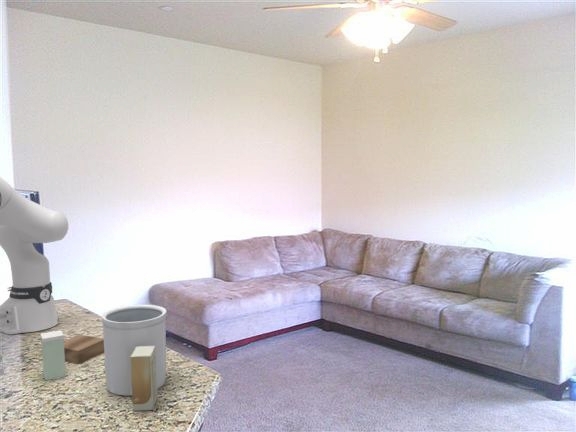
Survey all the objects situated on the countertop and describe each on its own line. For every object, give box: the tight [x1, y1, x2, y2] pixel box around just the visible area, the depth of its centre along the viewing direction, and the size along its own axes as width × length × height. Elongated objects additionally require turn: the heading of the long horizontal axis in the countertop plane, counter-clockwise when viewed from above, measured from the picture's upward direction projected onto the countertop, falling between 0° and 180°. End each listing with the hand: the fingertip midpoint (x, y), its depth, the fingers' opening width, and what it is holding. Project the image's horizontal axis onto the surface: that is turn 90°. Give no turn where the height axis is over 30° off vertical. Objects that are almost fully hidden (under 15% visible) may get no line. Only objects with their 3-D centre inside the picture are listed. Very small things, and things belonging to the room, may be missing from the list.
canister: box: [40, 329, 67, 381], centre depth 126 cm, size 5×5×11 cm
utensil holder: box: [101, 304, 168, 396], centre depth 120 cm, size 15×15×18 cm
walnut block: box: [64, 334, 104, 365], centre depth 140 cm, size 10×10×4 cm
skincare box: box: [130, 346, 158, 412], centre depth 110 cm, size 6×4×12 cm
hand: (2, 363), depth 121 cm, fingers open, 8 cm apart
